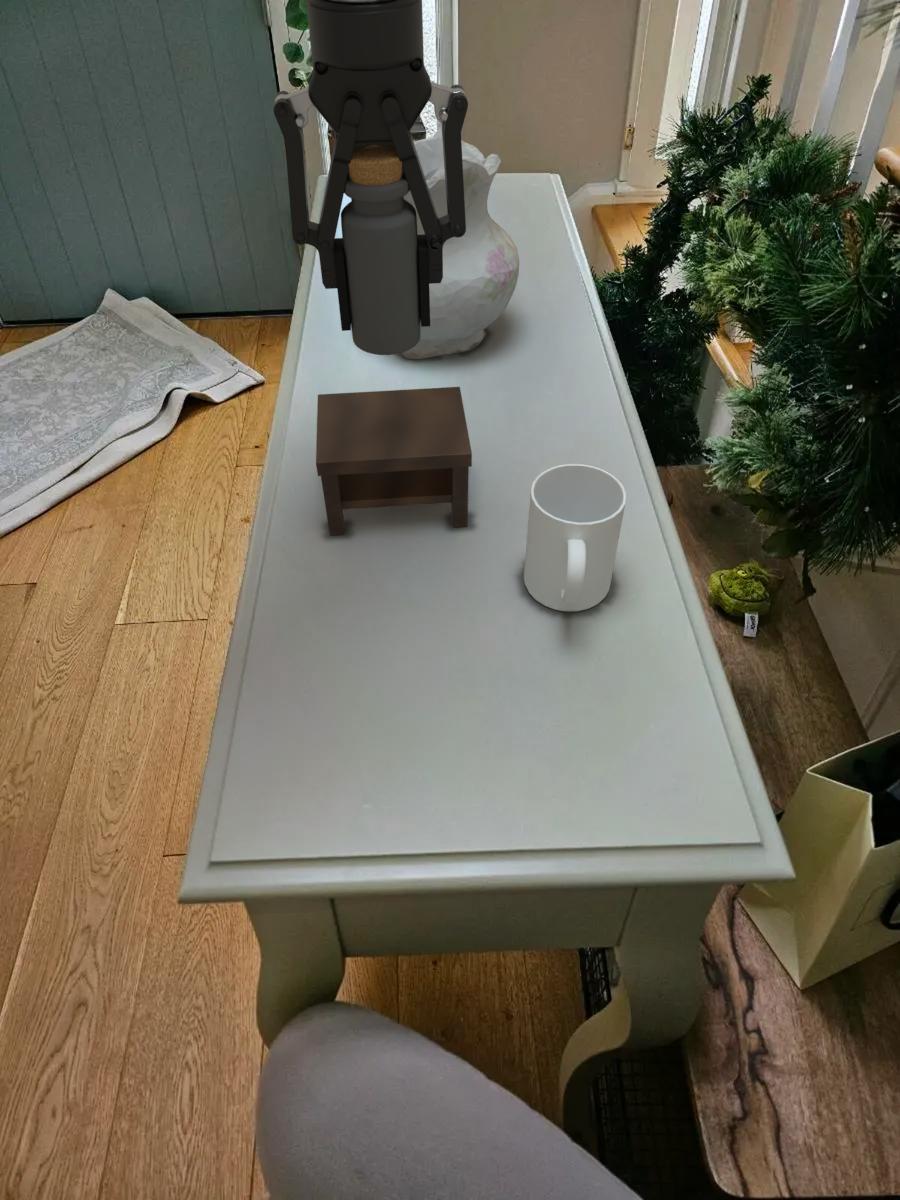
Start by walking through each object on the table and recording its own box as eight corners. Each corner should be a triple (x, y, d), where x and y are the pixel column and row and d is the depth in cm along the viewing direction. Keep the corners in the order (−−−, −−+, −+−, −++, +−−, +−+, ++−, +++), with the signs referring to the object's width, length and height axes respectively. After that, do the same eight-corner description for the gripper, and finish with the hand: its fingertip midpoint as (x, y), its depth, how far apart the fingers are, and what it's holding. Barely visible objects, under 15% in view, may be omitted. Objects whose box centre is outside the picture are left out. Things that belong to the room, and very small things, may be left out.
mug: (525, 549, 82) (532, 460, 74) (609, 555, 81) (625, 466, 73) (519, 646, 73) (526, 557, 66) (612, 653, 73) (630, 564, 65)
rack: (326, 537, 83) (315, 462, 76) (327, 467, 90) (317, 394, 84) (470, 528, 84) (471, 453, 77) (459, 459, 91) (459, 386, 85)
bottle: (378, 363, 70) (364, 171, 59) (339, 335, 73) (318, 147, 62) (434, 340, 73) (431, 151, 62) (394, 314, 76) (383, 129, 65)
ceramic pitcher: (366, 300, 118) (333, 101, 100) (506, 282, 118) (499, 79, 100) (372, 388, 103) (334, 172, 85) (532, 367, 103) (529, 147, 85)
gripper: (208, 6, 52) (269, 349, 69) (517, -3, 53) (503, 337, 70) (220, -22, 57) (274, 304, 74) (501, -30, 58) (491, 293, 75)
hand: (385, 319), depth 72 cm, fingers closed on bottle, 6 cm apart
